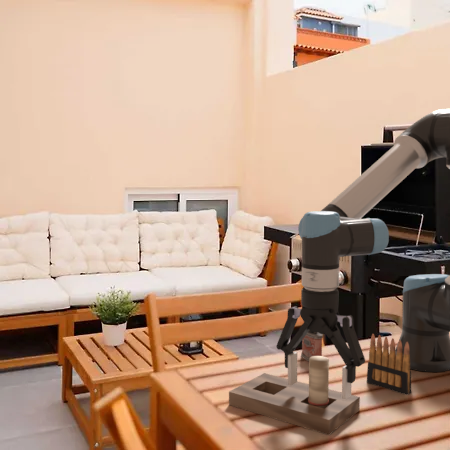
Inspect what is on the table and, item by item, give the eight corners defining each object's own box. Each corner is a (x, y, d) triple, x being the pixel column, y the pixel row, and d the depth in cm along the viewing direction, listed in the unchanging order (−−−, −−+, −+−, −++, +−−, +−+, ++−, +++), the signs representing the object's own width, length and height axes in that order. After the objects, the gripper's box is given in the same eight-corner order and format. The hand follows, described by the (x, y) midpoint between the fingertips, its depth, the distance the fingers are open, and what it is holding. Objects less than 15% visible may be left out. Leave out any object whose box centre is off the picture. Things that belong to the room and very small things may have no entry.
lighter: (298, 355, 163) (298, 319, 162) (309, 353, 164) (309, 318, 163) (314, 364, 156) (314, 327, 155) (325, 363, 157) (325, 325, 156)
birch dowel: (314, 408, 128) (314, 354, 127) (332, 413, 126) (332, 358, 125) (304, 415, 125) (305, 359, 124) (322, 420, 123) (323, 363, 121)
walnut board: (264, 385, 142) (264, 373, 142) (359, 410, 128) (359, 396, 127) (229, 404, 131) (228, 391, 130) (328, 434, 116) (329, 420, 116)
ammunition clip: (366, 382, 143) (367, 333, 142) (370, 380, 145) (371, 331, 143) (407, 395, 136) (408, 343, 134) (411, 392, 137) (413, 341, 136)
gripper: (260, 283, 127) (260, 382, 129) (368, 299, 112) (365, 410, 115) (279, 277, 133) (278, 372, 135) (384, 291, 118) (381, 397, 121)
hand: (318, 390), depth 125 cm, fingers open, 12 cm apart
